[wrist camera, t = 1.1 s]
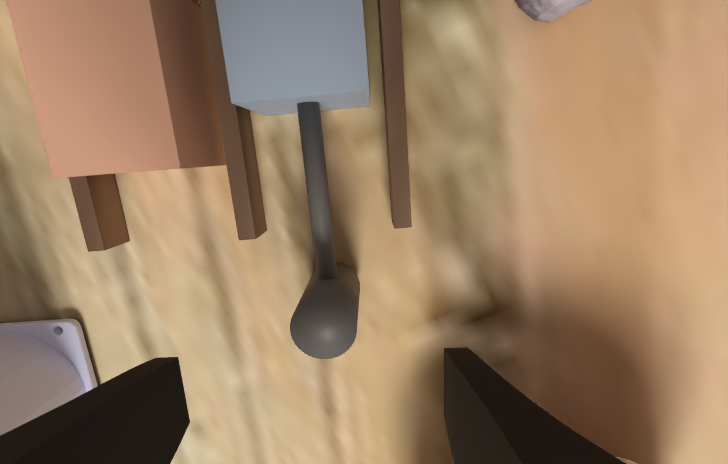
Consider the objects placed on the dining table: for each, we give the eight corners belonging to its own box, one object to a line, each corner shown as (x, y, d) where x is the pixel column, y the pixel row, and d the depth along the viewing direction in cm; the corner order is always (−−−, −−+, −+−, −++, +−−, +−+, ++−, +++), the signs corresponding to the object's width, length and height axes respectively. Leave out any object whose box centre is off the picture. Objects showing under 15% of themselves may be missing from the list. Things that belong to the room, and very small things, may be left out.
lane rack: (114, 242, 19) (81, 253, 16) (40, -65, 16) (-12, -100, 13) (407, 220, 18) (412, 229, 16) (389, -103, 15) (393, -146, 13)
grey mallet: (293, 306, 19) (265, 362, 14) (244, -49, 16) (182, -149, 10) (384, 300, 19) (389, 354, 14) (356, -61, 15) (349, -169, 10)
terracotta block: (131, 172, 18) (52, 178, 14) (97, 20, 16) (-2, -29, 12) (227, 164, 18) (180, 168, 13) (203, 10, 16) (141, -43, 12)
